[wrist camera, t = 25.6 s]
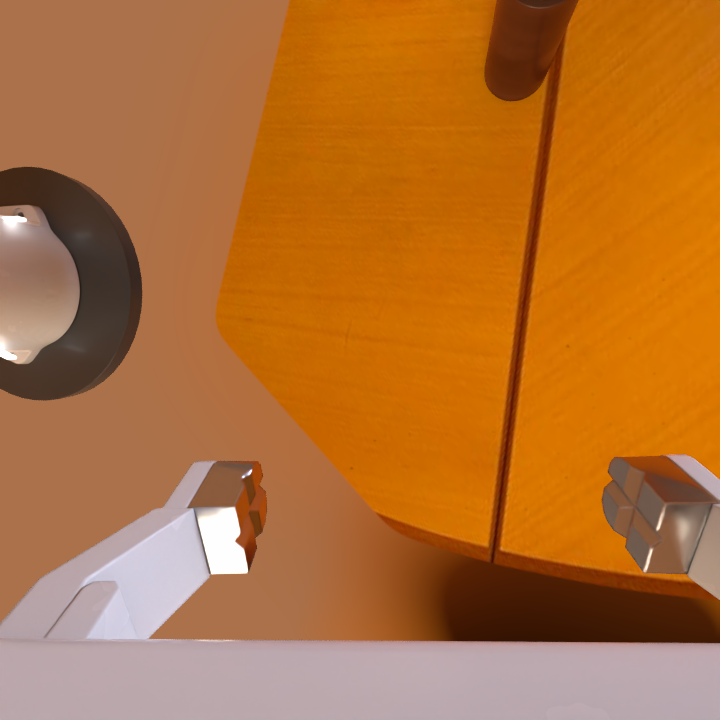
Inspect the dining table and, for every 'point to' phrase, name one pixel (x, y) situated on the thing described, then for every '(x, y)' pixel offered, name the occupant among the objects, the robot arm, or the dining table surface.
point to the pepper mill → (524, 44)
